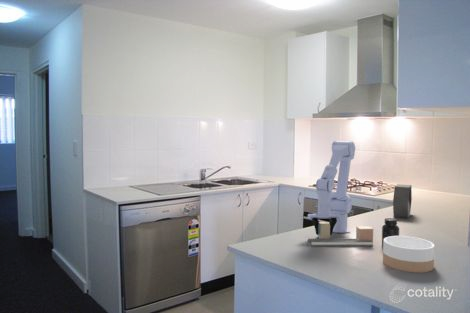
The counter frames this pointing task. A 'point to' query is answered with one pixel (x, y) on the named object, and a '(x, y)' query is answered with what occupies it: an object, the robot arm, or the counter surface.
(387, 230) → the supplement bottle
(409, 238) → the bowl
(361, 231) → the faced tea box
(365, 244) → the pair of grey rails
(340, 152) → the robot arm
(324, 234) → the box
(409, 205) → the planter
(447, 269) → the counter surface
